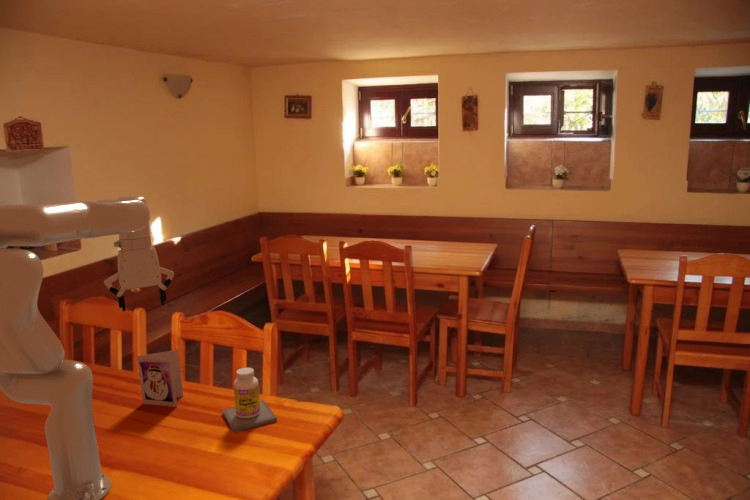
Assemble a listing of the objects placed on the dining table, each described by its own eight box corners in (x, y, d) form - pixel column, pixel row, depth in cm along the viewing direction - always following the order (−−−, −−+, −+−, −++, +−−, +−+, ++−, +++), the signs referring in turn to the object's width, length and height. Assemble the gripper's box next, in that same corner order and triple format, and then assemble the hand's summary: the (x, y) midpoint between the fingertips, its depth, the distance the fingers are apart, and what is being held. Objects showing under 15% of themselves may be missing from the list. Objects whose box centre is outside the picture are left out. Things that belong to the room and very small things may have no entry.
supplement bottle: (236, 421, 161) (232, 377, 159) (235, 410, 168) (231, 367, 165) (261, 417, 163) (258, 373, 160) (259, 406, 169) (256, 364, 167)
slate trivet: (276, 420, 163) (276, 417, 163) (233, 432, 158) (233, 428, 158) (263, 403, 174) (263, 399, 173) (222, 413, 168) (222, 410, 168)
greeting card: (141, 405, 175) (135, 357, 172) (155, 393, 182) (150, 347, 179) (175, 408, 172) (170, 359, 169) (189, 396, 179) (184, 350, 176)
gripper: (100, 250, 147) (109, 316, 151) (172, 242, 155) (179, 305, 158) (98, 245, 154) (107, 308, 157) (168, 237, 161) (174, 298, 165)
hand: (143, 306), depth 158 cm, fingers open, 9 cm apart
